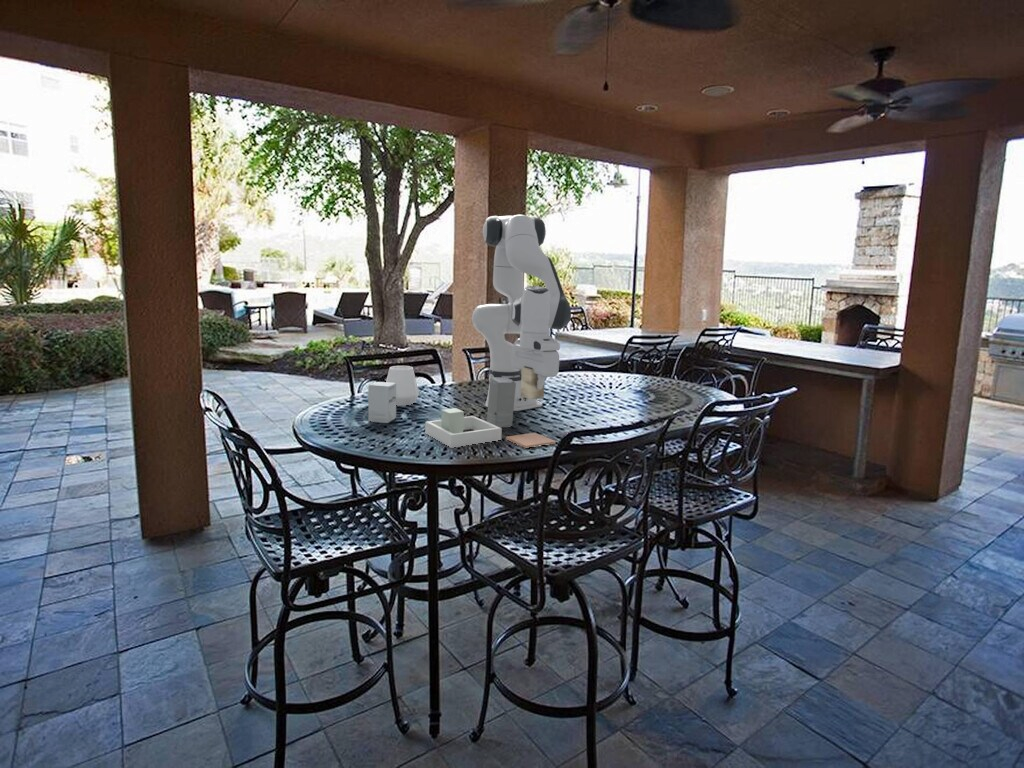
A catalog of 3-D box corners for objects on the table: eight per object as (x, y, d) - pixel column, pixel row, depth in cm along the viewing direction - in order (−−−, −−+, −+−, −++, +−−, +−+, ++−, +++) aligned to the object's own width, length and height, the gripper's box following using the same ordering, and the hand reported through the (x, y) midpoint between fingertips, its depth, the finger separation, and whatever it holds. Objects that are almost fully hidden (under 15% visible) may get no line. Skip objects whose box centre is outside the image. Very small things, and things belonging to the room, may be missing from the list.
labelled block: (534, 394, 192) (535, 365, 191) (543, 397, 188) (545, 367, 187) (520, 396, 190) (521, 366, 188) (530, 399, 186) (531, 368, 184)
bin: (473, 427, 206) (473, 415, 206) (501, 440, 192) (501, 428, 191) (425, 433, 197) (425, 421, 196) (451, 448, 183) (451, 435, 182)
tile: (534, 435, 199) (534, 432, 199) (555, 444, 190) (555, 441, 190) (505, 439, 193) (505, 436, 193) (525, 449, 184) (526, 445, 184)
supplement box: (388, 423, 208) (388, 386, 205) (367, 421, 209) (367, 384, 207) (396, 418, 215) (396, 382, 213) (376, 416, 216) (376, 381, 214)
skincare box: (486, 422, 214) (487, 377, 211) (505, 421, 217) (506, 376, 214) (495, 428, 206) (496, 381, 203) (515, 427, 209) (516, 380, 206)
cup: (405, 398, 247) (405, 363, 245) (426, 404, 238) (426, 368, 236) (376, 402, 238) (376, 366, 235) (397, 409, 229) (397, 371, 226)
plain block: (455, 435, 196) (455, 408, 194) (463, 439, 192) (463, 411, 190) (441, 437, 193) (441, 409, 191) (448, 442, 189) (449, 413, 187)
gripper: (506, 337, 193) (505, 381, 195) (546, 346, 176) (544, 393, 178) (523, 337, 196) (521, 380, 199) (563, 345, 179) (561, 392, 182)
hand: (532, 386), depth 188 cm, fingers closed on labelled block, 5 cm apart
